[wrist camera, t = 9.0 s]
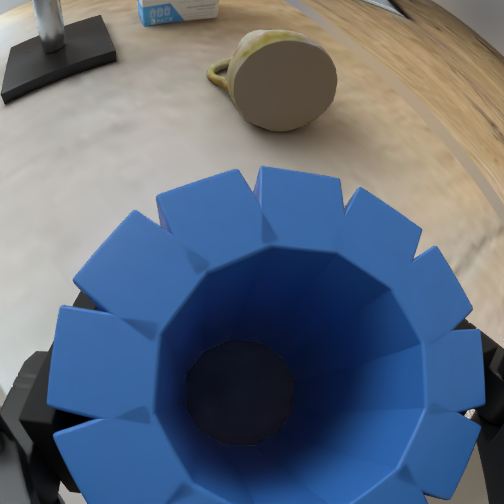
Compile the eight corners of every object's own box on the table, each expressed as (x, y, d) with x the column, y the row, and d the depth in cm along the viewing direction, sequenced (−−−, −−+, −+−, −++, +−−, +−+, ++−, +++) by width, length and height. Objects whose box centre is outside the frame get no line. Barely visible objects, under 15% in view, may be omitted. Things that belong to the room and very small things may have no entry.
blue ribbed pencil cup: (199, 510, 11) (206, 642, 2) (113, 345, 14) (3, 258, 5) (360, 422, 14) (521, 418, 5) (276, 274, 17) (356, 135, 8)
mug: (289, 58, 26) (353, 7, 17) (281, 153, 27) (355, 125, 17) (211, 37, 23) (254, -32, 14) (194, 137, 24) (235, 90, 15)
